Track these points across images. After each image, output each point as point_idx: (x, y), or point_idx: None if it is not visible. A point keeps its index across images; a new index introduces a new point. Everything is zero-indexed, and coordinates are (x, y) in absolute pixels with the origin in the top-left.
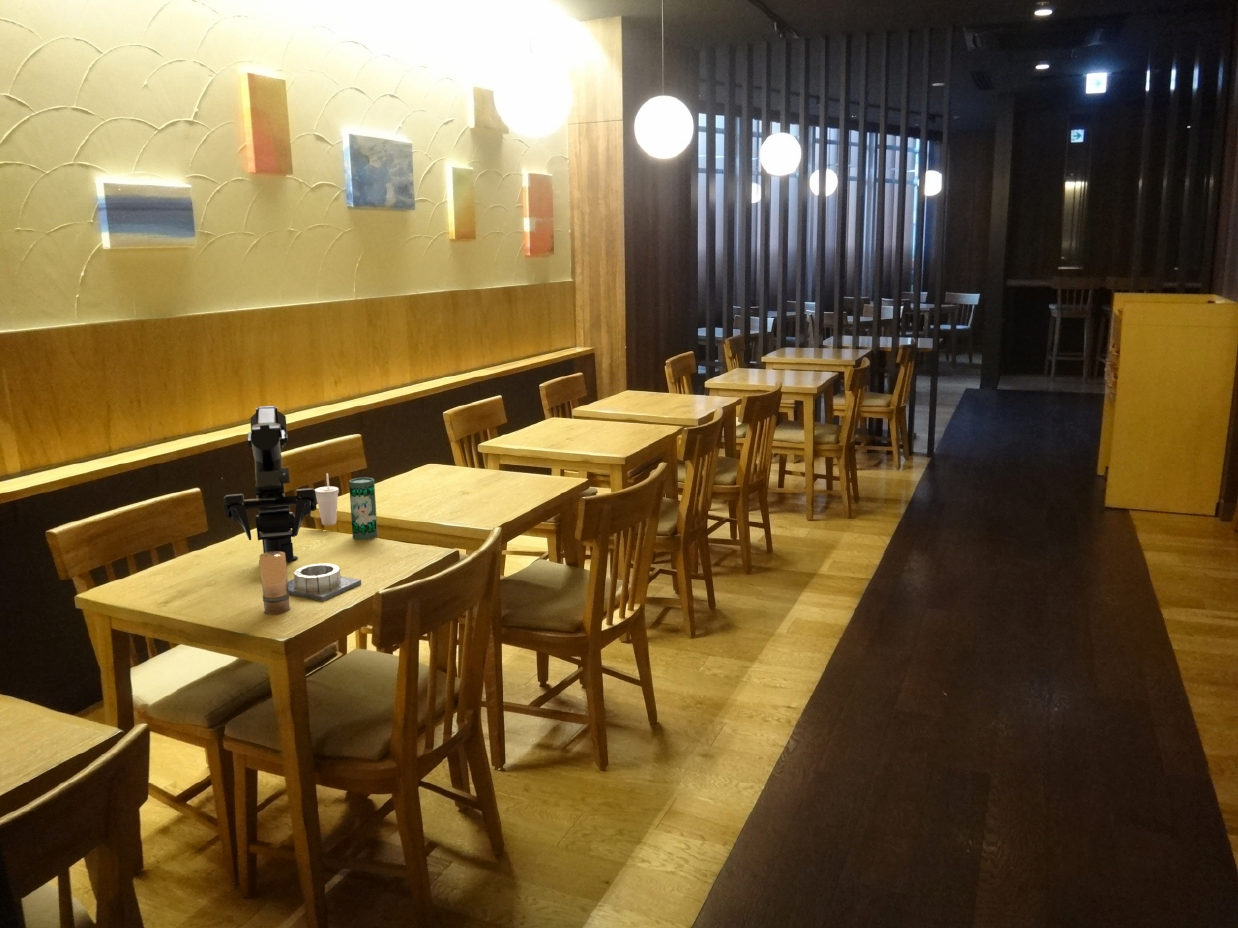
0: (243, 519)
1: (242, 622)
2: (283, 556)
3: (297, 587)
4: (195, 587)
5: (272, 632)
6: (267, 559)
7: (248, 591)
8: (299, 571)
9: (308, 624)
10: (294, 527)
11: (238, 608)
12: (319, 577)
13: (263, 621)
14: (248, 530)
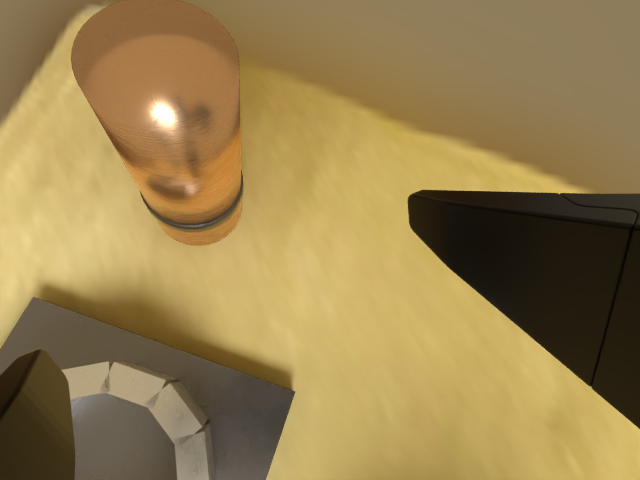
0: (607, 200)
1: (266, 111)
2: (76, 45)
3: (182, 384)
4: (590, 393)
5: None
6: (163, 2)
7: (391, 377)
8: (180, 457)
9: (42, 94)
10: (18, 386)
11: (336, 214)
12: None
13: None
14: (464, 197)
